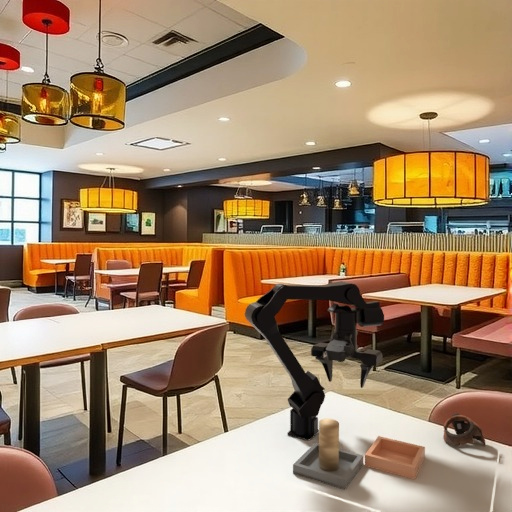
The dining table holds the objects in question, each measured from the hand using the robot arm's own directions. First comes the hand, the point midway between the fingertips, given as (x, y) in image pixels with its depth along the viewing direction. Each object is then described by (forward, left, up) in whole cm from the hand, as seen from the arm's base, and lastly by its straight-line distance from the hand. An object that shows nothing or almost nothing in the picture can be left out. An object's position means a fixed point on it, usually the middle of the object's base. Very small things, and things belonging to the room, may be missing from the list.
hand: (345, 384), depth 122 cm
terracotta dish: (+17, -12, -12) cm, 24 cm away
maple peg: (+5, -23, -11) cm, 26 cm away
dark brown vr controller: (+29, +7, -12) cm, 32 cm away
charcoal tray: (+5, -23, -12) cm, 27 cm away
